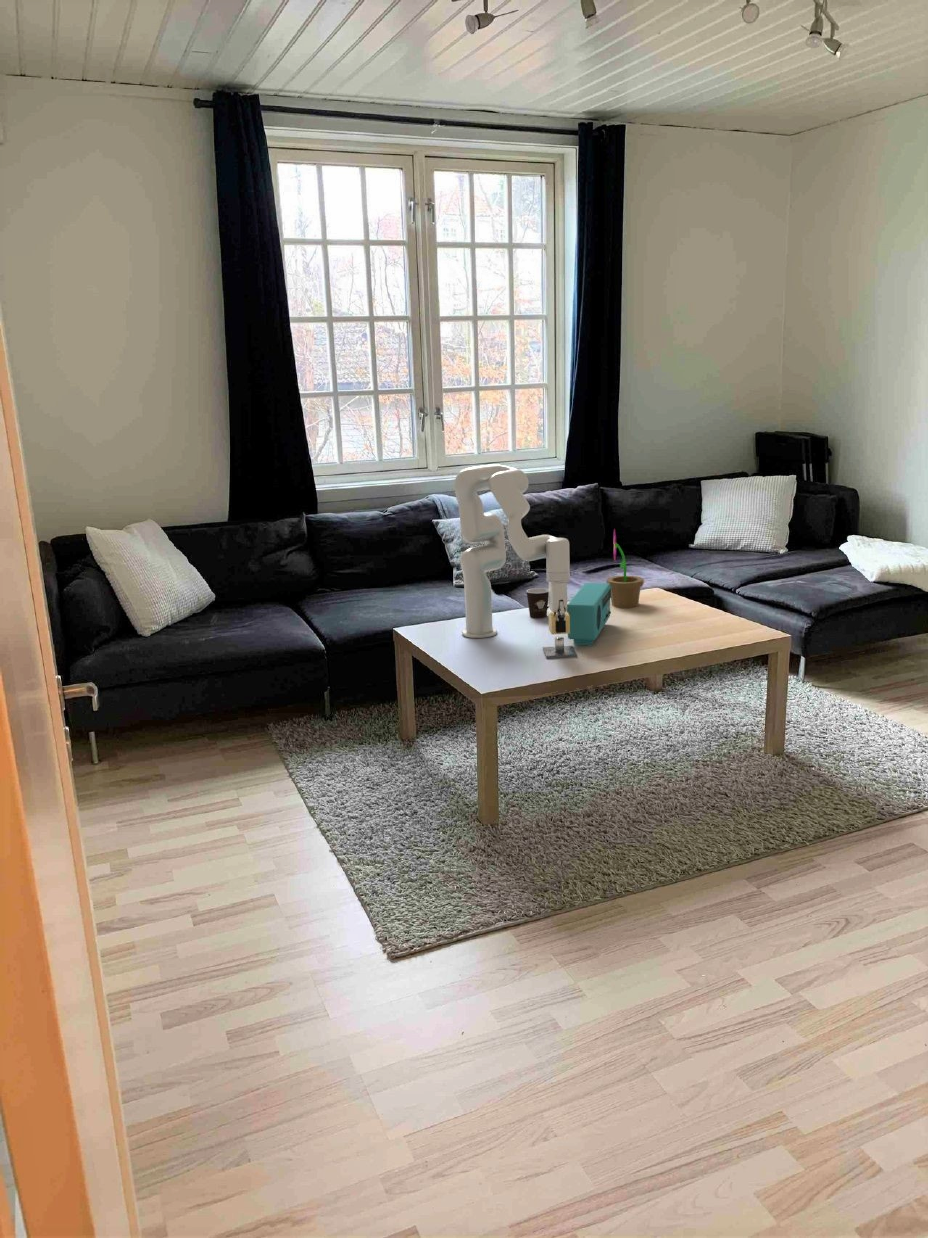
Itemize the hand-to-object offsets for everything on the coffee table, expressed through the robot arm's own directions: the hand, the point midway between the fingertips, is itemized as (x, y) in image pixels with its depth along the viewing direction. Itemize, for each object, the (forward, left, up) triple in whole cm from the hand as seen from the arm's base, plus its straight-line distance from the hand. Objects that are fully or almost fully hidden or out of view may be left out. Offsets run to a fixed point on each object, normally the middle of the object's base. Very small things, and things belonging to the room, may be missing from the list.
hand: (559, 629), depth 313 cm
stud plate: (0, 0, -8) cm, 8 cm away
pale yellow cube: (0, 0, -1) cm, 1 cm away
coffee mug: (-49, 0, -9) cm, 50 cm away
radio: (-21, +14, -9) cm, 27 cm away
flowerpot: (-60, +34, -9) cm, 70 cm away
